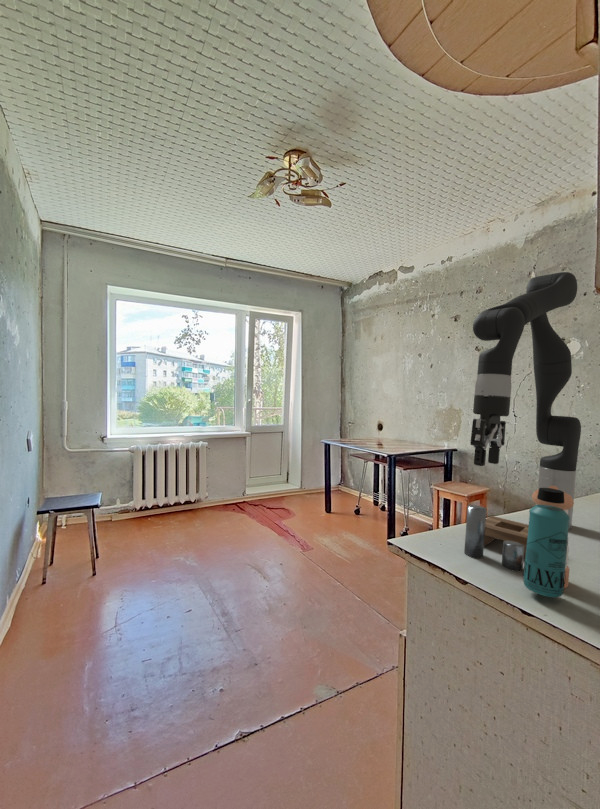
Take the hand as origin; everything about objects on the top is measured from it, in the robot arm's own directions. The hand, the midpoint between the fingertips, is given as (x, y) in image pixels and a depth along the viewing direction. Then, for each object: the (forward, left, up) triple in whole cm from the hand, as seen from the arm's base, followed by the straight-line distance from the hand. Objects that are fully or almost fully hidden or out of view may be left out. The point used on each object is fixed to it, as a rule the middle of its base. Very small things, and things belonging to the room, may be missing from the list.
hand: (486, 464), depth 87 cm
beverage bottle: (+12, +15, -21) cm, 28 cm away
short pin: (+2, +7, -21) cm, 22 cm away
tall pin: (+2, -1, -21) cm, 21 cm away
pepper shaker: (+3, +14, -21) cm, 25 cm away
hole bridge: (-11, +3, -21) cm, 24 cm away
